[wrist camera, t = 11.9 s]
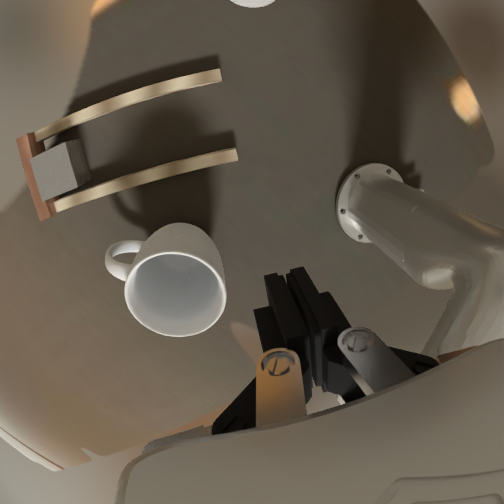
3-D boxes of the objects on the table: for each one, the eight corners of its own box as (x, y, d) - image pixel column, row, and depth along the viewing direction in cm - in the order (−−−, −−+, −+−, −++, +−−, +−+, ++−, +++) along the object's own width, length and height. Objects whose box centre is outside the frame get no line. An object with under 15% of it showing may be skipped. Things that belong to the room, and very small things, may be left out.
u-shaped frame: (218, 71, 32) (220, 65, 29) (236, 158, 38) (239, 162, 34) (31, 136, 31) (16, 139, 27) (52, 211, 36) (40, 221, 33)
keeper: (80, 138, 33) (65, 141, 29) (91, 178, 36) (78, 187, 31) (47, 153, 33) (29, 159, 28) (58, 191, 35) (42, 201, 31)
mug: (116, 267, 42) (90, 320, 30) (124, 197, 37) (92, 232, 26) (211, 286, 45) (214, 344, 34) (229, 219, 41) (239, 262, 29)
